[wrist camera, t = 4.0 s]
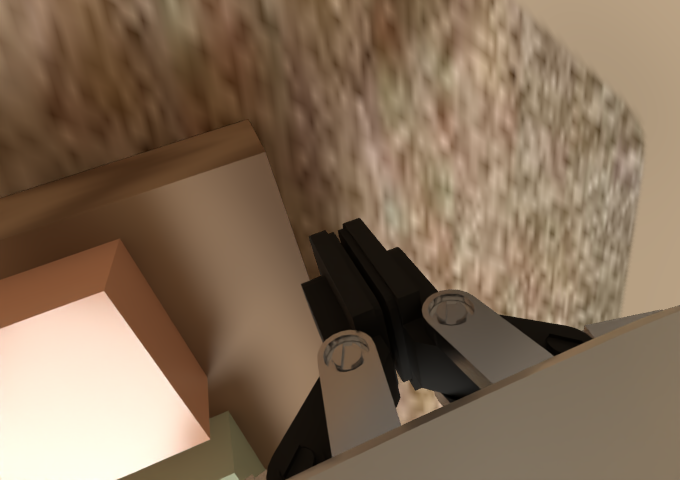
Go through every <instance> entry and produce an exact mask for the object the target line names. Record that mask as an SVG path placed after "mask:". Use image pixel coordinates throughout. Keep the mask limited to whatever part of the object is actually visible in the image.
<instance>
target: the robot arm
mask: <svg viewBox="0 0 680 480" xmlns="http://www.w3.org/2000/svg"><path fill="white" fill-rule="evenodd" d="M338 234H339V238H340V241H341V243H340V241H339V240H338V238H337V237H336V235H335V234H334V232H333V233H330V234H328V233H327V232H326V230H325V231H322V232H319V233H316V234H314V235H311V236H309V240H310V243H311V246H312V249H313V252H314V256H315V259H316V262H317V265H318V268H319V271H320V275H321V276H320V277H317V278H315V279H312V280H310V281H307V282H304V283H302V284H301V286H302V289H303V292H304V295H305V298H306V300H307V303H308V306H309V309H310V311H311V314H312V317H313V319H314V322H315V325H316V327H317V330H318V332H319V335H320V337H321V340H322V342H323V344H322V345H321V346H320V349H319V351H318V355H317V362H318V369H319V375H320V376H319V378H318V379H317V381H316V383H315V384H314V386H313V388H312V389H311V391H310V393H309V394H308V396H307V398H306V400H305V401H304V403H303V405H302V406H301V408H300V410H299V411H298V413H297V415H296V417H295V418H294V420H293V422H292V423H291V425H290V427H289V428H288V430H287V432H286V434H285V435H284V437H283V439H282V440H281V442H280V444H279V445H278V447H277V449H276V450H275V452H274V454H273V456H272V458H271V460H270V462H269V465H268V467H267V470H265V471H264V472H262V473H261V474H260V475H258V476H257V477H255V478H254V476H253V475H250V476H249V477H247V478H246V479H245V480H680V305H679V306H676V307H672V308H669V309H665V310H657V311H652V312H648V313H643V314H638V315H633V316H628V317H624V318H618V319H613V320H609V321H604V322H599V323H594V324H589V325H585V326H584V330H582V331H580V330H578V329H576V328H573V327H569V326H564V325H558V324H552V323H546V322H540V321H534V320H528V319H522V318H516V317H510V316H504V315H498V314H497V313H496V312H494V311H493V310H492V309H490V308H489V307H488V306H486V305H485V304H484V303H482V302H481V301H480V300H478V299H477V298H476V297H474V296H473V295H471V294H469V293H467V292H464V291H460V290H450V289H449V290H443V291H439V292H438V291H437V290H436V289H435V287H434V286H433V285H432V284H431V283H430V282H429V281H428V279H427V278H426V277H425V276H424V275H423V274H422V273H421V271H420V270H419V269H418V268H417V267H416V266H415V265H414V263H413V262H412V261H411V260H410V259H409V258H408V257H407V256H406V254H405V253H404V252H403V251H402V250H401V249H400V248H399V247H396V248H393V249H391V250H388V251H386V249H385V248H384V247H383V246H382V244H381V243H380V242H379V241H378V240H377V238H376V237H375V236H374V235H373V233H372V232H371V231H370V230H369V228H368V227H367V226H366V225H365V224H364V222H363V221H362V220H361V219H360V218H357V219H355V220H352V221H349V222H346V223H344V224H343V229H341V230H338ZM395 369H396V370H395ZM396 371H397V373H398V374H399V376H400V378H401V380H402V381H403V382H406V381H408V380H410V382H411V384H412V386H413V387H414V389H415V391H416V390H418V389H420V388H425V389H429V390H433V391H434V393H435V396H436V397H437V399H438V401H439V402H440V403H441V404H442V405H443V407H441V408H439V409H437V410H434V411H432V412H430V413H428V414H426V415H423V416H421V417H419V418H417V419H415V420H413V421H410V422H408V423H406V424H404V425H402V426H401V423H400V420H399V417H398V414H397V411H396V407H397V405H398V402H399V400H400V393H399V389H398V379H397V374H396Z"/></svg>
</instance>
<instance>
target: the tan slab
mask: <svg viewBox="0 0 680 480" xmlns="http://www.w3.org/2000/svg"><path fill="white" fill-rule="evenodd" d="M117 239H120V240H121V241H122V243H123V244H124V246H125V248H126V249H127V251H128V252H129V254H130V255H131V257H132V259H133V260H134V262H135V263H136V265H137V267H138V268H139V270H140V271H141V273H142V275H143V276H144V278H145V279H146V281H147V282H148V284H149V286H150V287H151V289H152V290H153V292H154V294H155V295H156V297H157V298H158V300H159V301H160V303H161V305H162V306H163V308H164V309H165V311H166V313H167V314H168V316H169V317H170V319H171V321H172V322H173V324H174V325H175V327H176V328H177V330H178V332H179V333H180V335H181V336H182V338H183V340H184V341H185V343H186V344H187V346H188V347H189V349H190V351H191V352H192V354H193V355H194V357H195V359H196V360H197V362H198V363H199V365H200V367H201V368H202V370H203V371H204V373H205V374H206V376H207V381H208V402H209V419H210V418H212V417H215V416H217V415H219V414H222V413H224V412H226V411H229V413H230V414H231V416H232V417H233V419H234V420H235V422H236V424H237V425H238V427H239V428H240V430H241V432H242V433H243V435H244V436H245V438H246V440H247V441H248V443H249V444H250V446H251V447H252V449H253V451H254V452H255V454H256V455H257V457H258V459H259V460H260V462H261V463H262V465H263V466H264V468H265V470H267V467H268V465H269V462H270V460H271V458H272V456H273V454H274V452H275V450H276V449H277V447H278V445H279V444H280V442H281V440H282V439H283V437H284V435H285V434H286V432H287V430H288V428H289V427H290V425H291V423H292V422H293V420H294V418H295V417H296V415H297V413H298V411H299V410H300V408H301V406H302V405H303V403H304V401H305V400H306V398H307V396H308V394H309V393H310V391H311V389H312V388H313V386H314V384H315V383H316V381H317V379H318V378H319V376H320V375H319V369H318V362H317V355H318V351H319V349H320V346H321V345H322V344H323V342H322V340H321V337H320V335H319V332H318V330H317V327H316V325H315V322H314V319H313V317H312V314H311V311H310V309H309V306H308V303H307V300H306V298H305V295H304V292H303V289H302V286H301V284H302V283H304V282H307V281H310V279H309V277H308V274H307V271H306V268H305V265H304V262H303V259H302V256H301V253H300V250H299V248H298V245H297V242H296V239H295V236H294V233H293V230H292V227H291V224H290V221H289V219H288V216H287V213H286V210H285V207H284V204H283V201H282V198H281V195H280V192H279V190H278V187H277V184H276V181H275V178H274V175H273V172H272V169H271V166H270V163H269V161H268V158H267V155H266V152H265V150H264V148H263V146H262V144H261V142H260V141H259V139H258V137H257V135H256V133H255V131H254V129H253V127H252V125H251V124H250V122H249V120H248V119H247V120H244V121H241V122H238V123H235V124H232V125H228V126H225V127H222V128H219V129H216V130H213V131H210V132H207V133H203V134H200V135H197V136H194V137H191V138H188V139H185V140H182V141H178V142H175V143H172V144H169V145H166V146H163V147H160V148H156V149H153V150H150V151H147V152H144V153H141V154H138V155H135V156H131V157H128V158H125V159H122V160H119V161H116V162H113V163H109V164H106V165H103V166H100V167H97V168H94V169H91V170H88V171H84V172H81V173H78V174H75V175H72V176H69V177H66V178H63V179H59V180H56V181H53V182H50V183H47V184H44V185H41V186H37V187H34V188H31V189H28V190H25V191H22V192H19V193H16V194H12V195H9V196H6V197H3V198H0V280H1V279H4V278H7V277H10V276H13V275H16V274H19V273H22V272H24V271H27V270H30V269H33V268H36V267H39V266H42V265H45V264H48V263H50V262H53V261H56V260H59V259H62V258H65V257H68V256H71V255H73V254H76V253H79V252H82V251H85V250H88V249H91V248H94V247H97V246H99V245H102V244H105V243H108V242H111V241H114V240H117Z"/></svg>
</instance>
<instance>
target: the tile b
mask: <svg viewBox="0 0 680 480" xmlns="http://www.w3.org/2000/svg"><path fill="white" fill-rule="evenodd" d="M209 423H210V440H208V441H206V442H203V443H201V444H199V445H196V446H194V447H192V448H189V449H187V450H185V451H182V452H180V453H178V454H175V455H173V456H171V457H168V458H166V459H164V460H161V461H159V462H157V463H154V464H152V465H150V466H148V467H145V468H143V469H141V470H138V471H136V472H134V473H131V474H129V475H127V476H124V477H122V478H120V479H117V480H245V479H246V478H247V477H249V476H250V475H253V476H254V478H255V477H257V476H258V475H260V474H261V473H262V472H264V471H265V468H264V466H263V465H262V463H261V462H260V460H259V459H258V457H257V455H256V454H255V452H254V451H253V449H252V447H251V446H250V444H249V443H248V441H247V440H246V438H245V436H244V435H243V433H242V432H241V430H240V428H239V427H238V425H237V424H236V422H235V420H234V419H233V417H232V416H231V414H230V413H229V411H226V412H224V413H222V414H219V415H217V416H215V417H212V418H210V419H209Z"/></svg>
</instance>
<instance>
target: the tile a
mask: <svg viewBox="0 0 680 480" xmlns="http://www.w3.org/2000/svg"><path fill="white" fill-rule="evenodd" d="M208 440H210V423H209V402H208V381H207V376H206V374H205V373H204V371H203V370H202V368H201V367H200V365H199V363H198V362H197V360H196V359H195V357H194V355H193V354H192V352H191V351H190V349H189V347H188V346H187V344H186V343H185V341H184V340H183V338H182V336H181V335H180V333H179V332H178V330H177V328H176V327H175V325H174V324H173V322H172V321H171V319H170V317H169V316H168V314H167V313H166V311H165V309H164V308H163V306H162V305H161V303H160V301H159V300H158V298H157V297H156V295H155V294H154V292H153V290H152V289H151V287H150V286H149V284H148V282H147V281H146V279H145V278H144V276H143V275H142V273H141V271H140V270H139V268H138V267H137V265H136V263H135V262H134V260H133V259H132V257H131V255H130V254H129V252H128V251H127V249H126V248H125V246H124V244H123V243H122V241H121V240H120V239H117V240H114V241H111V242H108V243H105V244H102V245H99V246H97V247H94V248H91V249H88V250H85V251H82V252H79V253H76V254H73V255H71V256H68V257H65V258H62V259H59V260H56V261H53V262H50V263H48V264H45V265H42V266H39V267H36V268H33V269H30V270H27V271H24V272H22V273H19V274H16V275H13V276H10V277H7V278H4V279H1V280H0V480H117V479H120V478H122V477H124V476H127V475H129V474H131V473H134V472H136V471H138V470H141V469H143V468H145V467H148V466H150V465H152V464H154V463H157V462H159V461H161V460H164V459H166V458H168V457H171V456H173V455H175V454H178V453H180V452H182V451H185V450H187V449H189V448H192V447H194V446H196V445H199V444H201V443H203V442H206V441H208Z"/></svg>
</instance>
